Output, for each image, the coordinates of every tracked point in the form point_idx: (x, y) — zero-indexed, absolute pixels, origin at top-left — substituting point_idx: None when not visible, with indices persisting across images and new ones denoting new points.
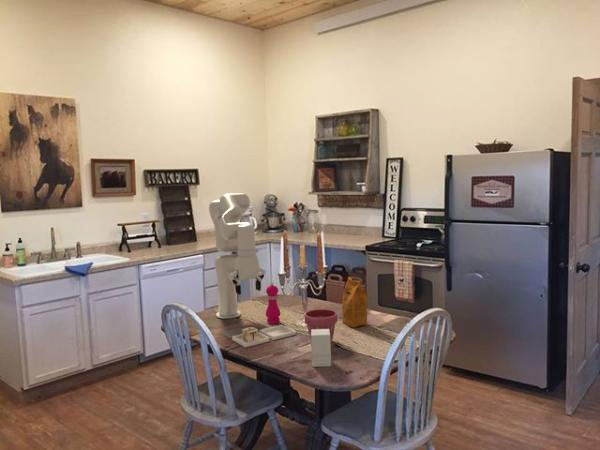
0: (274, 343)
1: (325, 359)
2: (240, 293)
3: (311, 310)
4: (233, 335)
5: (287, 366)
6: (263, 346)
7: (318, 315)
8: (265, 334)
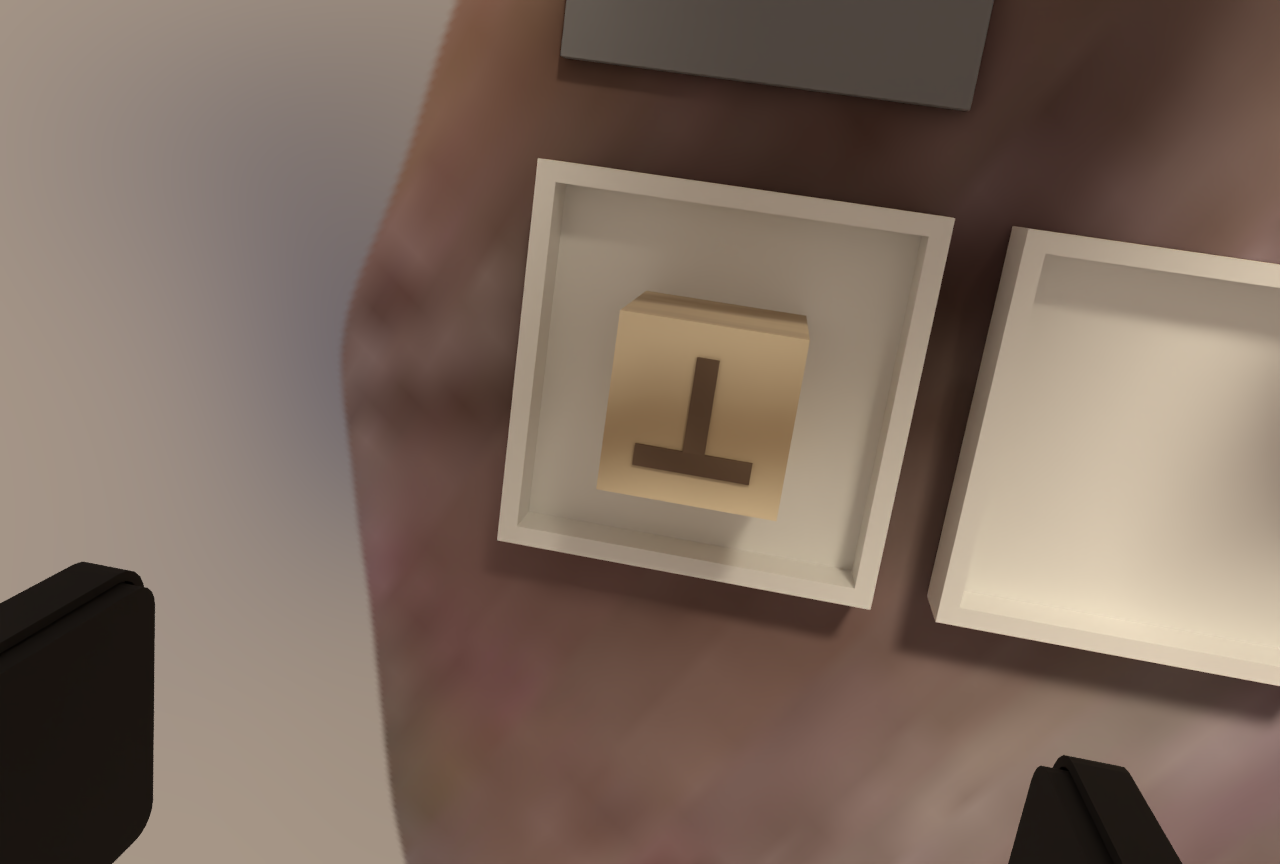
0: (876, 663)
1: None
2: (107, 844)
3: None
4: (663, 15)
5: None
6: (711, 635)
7: None
8: (980, 405)
